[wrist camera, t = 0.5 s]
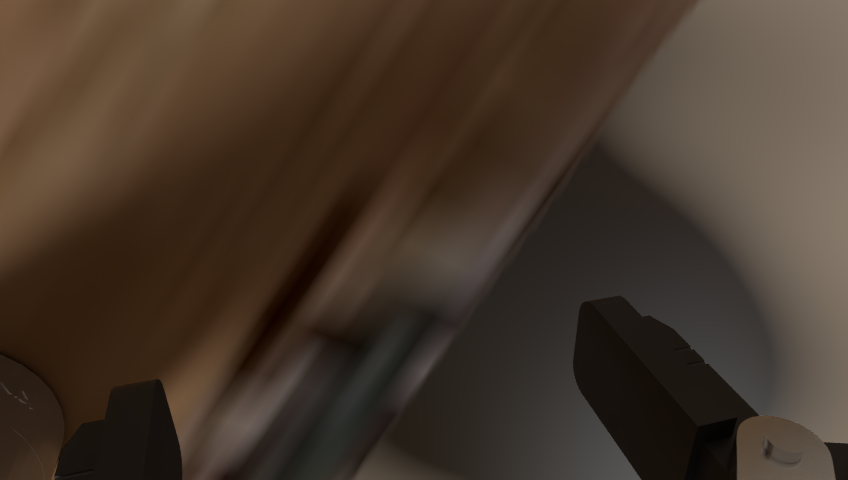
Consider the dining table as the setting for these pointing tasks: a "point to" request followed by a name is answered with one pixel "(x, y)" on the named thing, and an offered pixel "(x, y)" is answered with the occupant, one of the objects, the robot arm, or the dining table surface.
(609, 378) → the robot arm
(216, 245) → the dining table surface
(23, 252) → the dining table surface
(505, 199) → the dining table surface
